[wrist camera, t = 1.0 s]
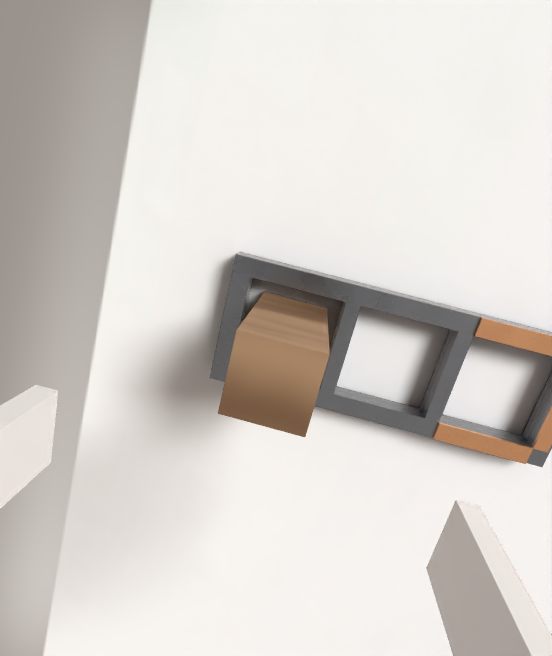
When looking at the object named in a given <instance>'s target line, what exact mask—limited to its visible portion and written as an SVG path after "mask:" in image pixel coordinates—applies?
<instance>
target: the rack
mask: <svg viewBox="0 0 552 656" xmlns="http://www.w3.org/2000/svg"><path fill="white" fill-rule="evenodd" d="M253 278H255V279H259V280H263V281H267V282H270V283H274V284H278V285H282V286H286V287H290V288H294V289H297V290H301V291H305V292H309V293H313V294H317V295H320V296H324V297H328V298H332V299H336V300H340V301H344V302H343V306H342V309H341V312H340V316H339V319H338V323H337V326H336V329H335V333H334V336H333V339H332V343H331V346H330V350H329V352H330V355H329V359H328V362H327V365H326V369H325V372H324V375H323V379H322V382H321V386H320V389H319V392H318V396H317V399H316V402H315V406H317V407H321V408H325V409H328V410H332V411H336V412H339V413H343V414H347V415H351V416H354V417H358V418H362V419H365V420H369V421H373V422H377V423H380V424H384V425H388V426H391V427H395V428H399V429H403V430H406V431H410V432H414V433H417V434H421V435H425V436H428V437H432V438H433V439H435V440H439V441H442V442H446V443H450V444H453V445H457V446H461V447H464V448H468V449H472V450H476V451H479V452H483V453H487V454H490V455H494V456H498V457H502V458H505V459H509V460H513V461H516V462H520V463H524V464H526V463H529V464H532V465H536V466H540V467H543V465H544V463H545V461H546V459H547V457H548V455H549V453H550V451H551V449H552V373H551V375H550V377H549V379H548V381H547V383H546V385H545V387H544V390H543V392H542V394H541V396H540V398H539V400H538V402H537V404H536V406H535V409H534V411H533V413H532V415H531V417H530V419H529V421H528V423H527V426H526V428H525V430H524V432H523V434H522V436H520V435H517V434H513V433H509V432H505V431H502V430H498V429H494V428H490V427H487V426H483V425H479V424H476V423H472V422H468V421H464V420H461V419H457V418H453V417H449V416H446V415H442V414H443V411H444V409H445V406H446V404H447V401H448V399H449V396H450V394H451V391H452V389H453V386H454V384H455V381H456V379H457V376H458V374H459V371H460V369H461V366H462V364H463V361H464V359H465V356H466V354H467V351H468V349H469V346H470V344H471V341H472V339H473V336H476V337H480V338H484V339H487V340H491V341H495V342H499V343H503V344H507V345H511V346H514V347H518V348H522V349H526V350H530V351H534V352H537V353H541V354H545V355H549V356H552V332H549V331H545V330H541V329H537V328H533V327H529V326H526V325H522V324H518V323H514V322H510V321H506V320H502V319H498V318H495V317H491V316H487V315H483V314H479V313H475V312H471V311H467V310H464V309H460V308H456V307H452V306H448V305H444V304H440V303H436V302H433V301H429V300H425V299H421V298H417V297H413V296H409V295H405V294H402V293H398V292H394V291H390V290H386V289H382V288H378V287H374V286H371V285H367V284H363V283H359V282H355V281H351V280H347V279H343V278H340V277H336V276H332V275H328V274H324V273H320V272H316V271H312V270H309V269H305V268H301V267H297V266H293V265H289V264H285V263H281V262H278V261H274V260H270V259H266V258H262V257H258V256H254V255H250V254H246V253H243V252H239V253H237V254H236V257H235V261H234V266H233V271H232V275H231V280H230V285H229V290H228V294H227V299H226V304H225V309H224V313H223V318H222V323H221V327H220V332H219V337H218V342H217V346H216V351H215V356H214V361H213V365H212V370H211V375H210V378H213V379H217V380H221V381H224V382H225V380H226V375H227V371H228V366H229V362H230V357H231V353H232V349H233V344H234V340H235V335H236V331H237V329H238V327H239V326H240V325H241V323H242V322H243V320H244V315H245V311H246V307H247V302H248V298H249V293H250V289H251V285H252V280H253ZM361 306H363V307H367V308H370V309H374V310H378V311H382V312H386V313H390V314H394V315H397V316H401V317H405V318H409V319H413V320H417V321H420V322H424V323H428V324H432V325H436V326H440V327H444V328H447V329H450V331H449V334H448V336H447V339H446V342H445V344H444V347H443V349H442V352H441V355H440V357H439V360H438V363H437V365H436V368H435V370H434V373H433V376H432V378H431V381H430V383H429V386H428V389H427V391H426V394H425V397H424V399H423V402H422V404H421V407H420V409H419V408H416V407H412V406H408V405H404V404H401V403H397V402H393V401H390V400H386V399H382V398H378V397H375V396H371V395H367V394H363V393H360V392H356V391H352V390H348V389H345V388H341V387H337V386H336V385H337V382H338V379H339V375H340V372H341V369H342V366H343V363H344V359H345V356H346V353H347V350H348V346H349V343H350V340H351V337H352V334H353V330H354V327H355V324H356V321H357V317H358V314H359V311H360V308H361Z"/></svg>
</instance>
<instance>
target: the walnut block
mask: <svg viewBox="0 0 552 656" xmlns="http://www.w3.org/2000/svg"><path fill="white" fill-rule="evenodd" d="M329 355H330V352H329V335H328V318H327V307H323V306H319V305H315V304H311V303H307V302H304V301H300V300H296V299H292V298H288V297H284V296H281V295H277V294H273V293H269V292H265V291H264V293H263V294H262V296H261V297H260V298H259V300H258V301H257V303H256V304H255V305H254V307H253V308H252V309H251V311H250V312H249V314H248V315H247V316H246V318H245V319H244V321H243V322H242V323H241V325H240V326H239V327H238V329H237V331H236V335H235V340H234V344H233V349H232V353H231V357H230V362H229V366H228V371H227V375H226V380H225V384H224V389H223V393H222V398H221V402H220V407H219V411H218V414H222V415H225V416H229V417H233V418H236V419H240V420H244V421H247V422H251V423H255V424H258V425H262V426H266V427H269V428H273V429H277V430H280V431H284V432H288V433H291V434H295V435H299V436H302V437H305V436H306V432H307V429H308V426H309V422H310V419H311V416H312V412H313V409H314V406H315V402H316V399H317V396H318V392H319V389H320V386H321V382H322V379H323V375H324V372H325V369H326V365H327V362H328V359H329Z"/></svg>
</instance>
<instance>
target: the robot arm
mask: <svg viewBox="0 0 552 656" xmlns="http://www.w3.org/2000/svg"><path fill="white" fill-rule="evenodd" d="M57 398H58V391H57V390H53V389H50V388H46V387H42V386H39V385H35V386H33V387H31V388H30V389H28V390H26V391H25V392H23V393H21V394H19V395H18V396H16V397H14V398H12V399H11V400H9V401H7V402H6V403H4V404H2V405H1V406H0V508H2V507H3V506H4V505H5V504H6V503H7V502H8V501H9V500H10V499H11V498H13V497H14V496H15V495H16V494H17V493H18V492H19V491H20V490H21V489H23V488H24V487H25V486H26V485H27V484H28V483H29V482H30V481H31V480H32V479H33V478H35V477H36V476H37V475H38V474H39V473H40V472H41V471H42V470H43V469H44V468H46V467H47V466H48V465H49V464H50V463H51V456H52V447H53V446H52V445H53V437H54V427H55V418H56V408H57ZM427 571H428V575H429V578H430V581H431V584H432V588H433V591H434V594H435V597H436V601H437V604H438V607H439V611H440V614H441V617H442V620H443V624H444V627H445V630H446V633H447V637H448V640H449V643H450V647H451V650H452V653H453V656H552V634H551V633H550V631H549V629H548V627H547V626H546V624H545V622H544V620H543V618H542V617H541V615H540V613H539V611H538V609H537V608H536V606H535V604H534V602H533V601H532V599H531V597H530V595H529V593H528V592H527V590H526V588H525V586H524V584H523V583H522V581H521V579H520V577H519V575H518V574H517V572H516V570H515V568H514V566H513V565H512V563H511V561H510V559H509V557H508V556H507V554H506V552H505V550H504V548H503V547H502V545H501V543H500V541H499V539H498V538H497V536H496V534H495V532H494V530H493V529H492V527H491V525H490V523H489V521H488V520H487V518H486V516H485V514H484V513H483V511H482V509H481V507H480V506H477V505H473V504H470V503H466V502H462V501H459V500H456V501H455V503H454V506H453V508H452V510H451V513H450V515H449V517H448V519H447V522H446V524H445V526H444V529H443V531H442V533H441V536H440V538H439V540H438V542H437V545H436V547H435V549H434V552H433V554H432V556H431V559H430V561H429V563H428V566H427Z"/></svg>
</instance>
